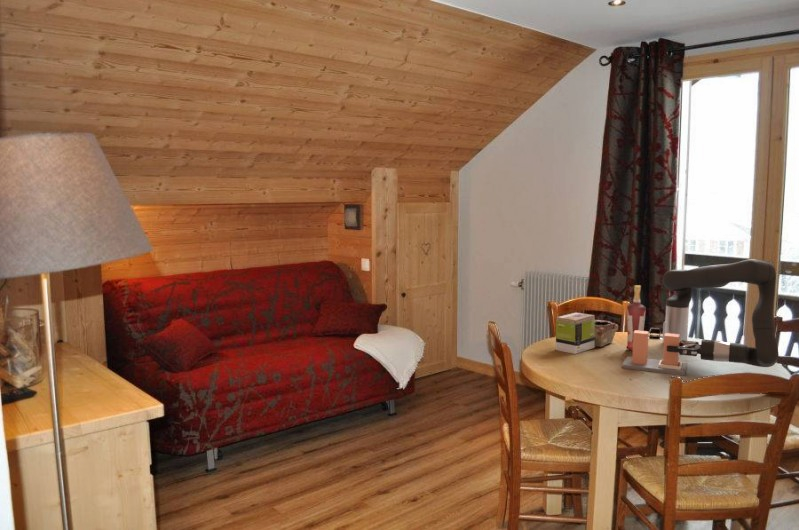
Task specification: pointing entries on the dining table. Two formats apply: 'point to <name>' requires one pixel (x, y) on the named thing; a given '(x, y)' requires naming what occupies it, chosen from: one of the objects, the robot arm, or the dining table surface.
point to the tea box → (575, 332)
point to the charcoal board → (642, 363)
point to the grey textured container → (604, 332)
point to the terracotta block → (670, 357)
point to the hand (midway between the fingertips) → (667, 345)
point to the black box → (655, 330)
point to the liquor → (635, 317)
